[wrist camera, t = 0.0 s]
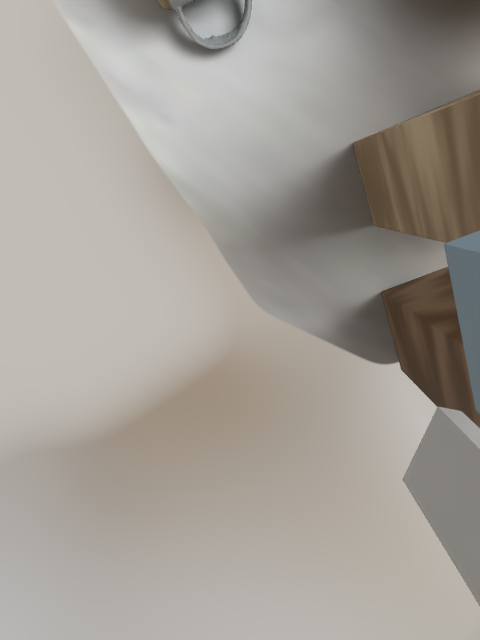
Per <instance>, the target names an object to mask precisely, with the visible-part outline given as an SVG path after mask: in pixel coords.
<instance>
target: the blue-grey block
mask: <svg viewBox="0 0 480 640" xmlns="http://www.w3.org/2000/svg"><path fill="white" fill-rule="evenodd" d="M444 246H445V252H446V257H447V262H448V267H449V273H450V278H451V283H452V288H453V293H454V299H455V304H456V309H457V314H458V320H459V325H460V330H461V335H462V340H463V346H464V351H465V356H466V361H467V367H468V372H469V377H470V382H471V387H472V393H473V398H474V403H475V408H476V411H477V412H478V413H479V414H480V230H479V231H477V232H474V233H471V234H469V235H466V236H464V237H461V238H458V239H456V240H453V241H450V242H448V243H445V244H444Z"/></svg>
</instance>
